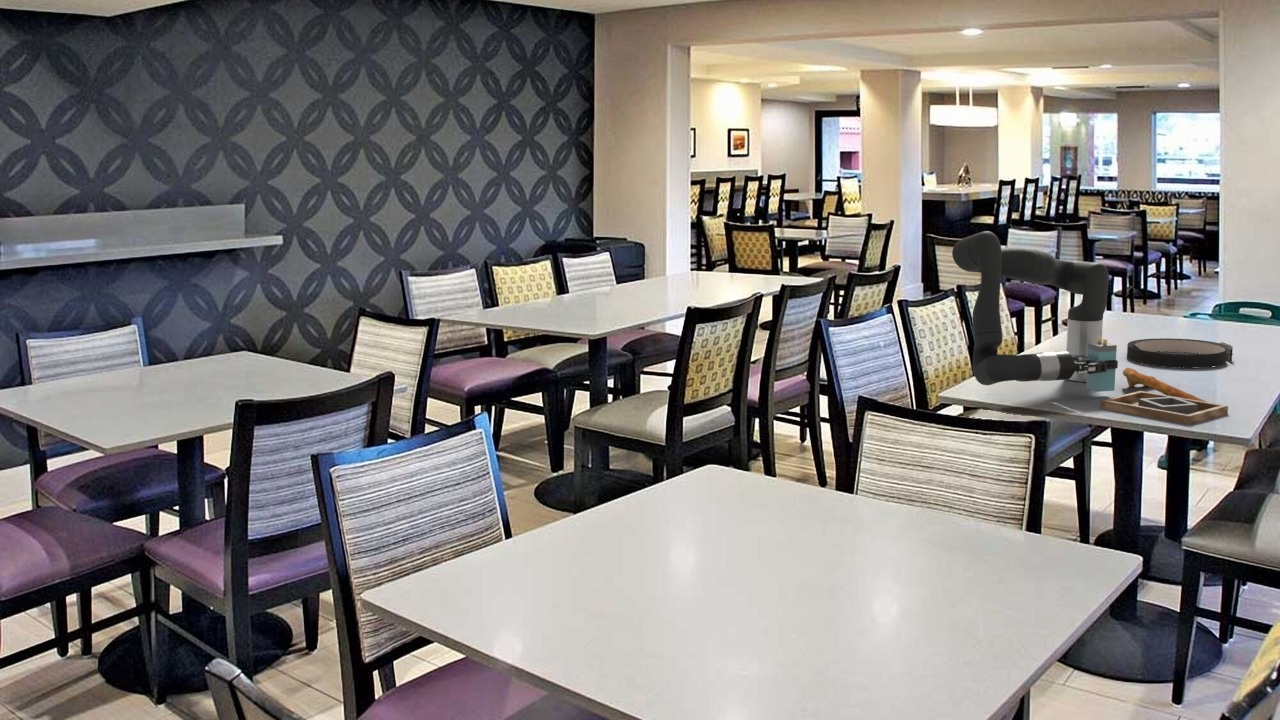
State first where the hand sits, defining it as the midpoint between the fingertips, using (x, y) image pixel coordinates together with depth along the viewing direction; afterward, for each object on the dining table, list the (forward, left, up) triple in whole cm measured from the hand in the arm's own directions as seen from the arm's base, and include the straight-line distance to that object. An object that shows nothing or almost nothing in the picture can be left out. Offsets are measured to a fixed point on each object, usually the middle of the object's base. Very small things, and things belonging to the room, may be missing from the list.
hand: (1110, 362), depth 299 cm
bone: (-9, +9, -10) cm, 16 cm away
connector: (+2, -1, -7) cm, 8 cm away
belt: (-63, -17, -10) cm, 66 cm away
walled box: (+6, +19, -9) cm, 22 cm away
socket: (+6, +20, -9) cm, 23 cm away
